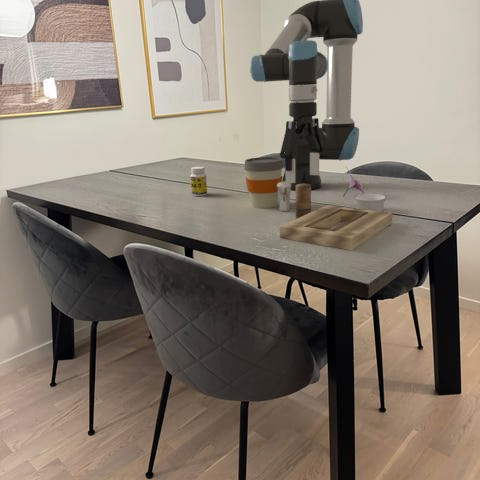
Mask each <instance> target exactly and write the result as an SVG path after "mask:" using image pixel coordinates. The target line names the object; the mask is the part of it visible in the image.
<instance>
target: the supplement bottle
mask: <svg viewBox="0 0 480 480" xmlns="http://www.w3.org/2000/svg"><path fill="white" fill-rule="evenodd" d="M190 170H191V171H190V172H191V174H190V188H191V189H190V192H191V196H194V197H203V196H206V195H207V194H208V186H207V185H208V184H207V175H206V173H205V166H192V167H191V168H190Z"/></svg>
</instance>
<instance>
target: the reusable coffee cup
mask: <svg viewBox="0 0 480 480" xmlns="http://www.w3.org/2000/svg"><path fill="white" fill-rule="evenodd" d="M283 164H284V163H283V159H282V158H281V157H275V156H270V157H269V156H265V157H264V156H261V157H260V156H259V157H251V158H246V159H245V160H244V169H243V170H245V175H246V176H245V181H246V189H247V192H248V193H249V199H250V205H251V207H252V208H256V209H270V208H274V207H277V206H279V204H278V193H277V184H278V183H279V182H282V179H283V175H282V173H283V172H282V170H283V168H284V165H283Z"/></svg>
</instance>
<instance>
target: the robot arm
mask: <svg viewBox="0 0 480 480" xmlns="http://www.w3.org/2000/svg"><path fill="white" fill-rule="evenodd" d="M363 27H364V21H363V13H362V7H361V4H360V0H313V1H309V2H308V3H304V4H303V5H302V6H300V7H299V8H297V9H295V10H294V11H293V12H292V13H291V14H290V15H289V16H288V17H287V19H286V20H285V22H284V25H283V29H282V30H281V32H280V33H279V34H278V36H277V37H276V38H275V40H274V41H273V43H272V44H271V45H270V47H269V48H268V50H267V51H266V52H265V53H264V54H259V55H258V54H257V55H254V56H252V58H251V59H250V62H249V70H250V71H249V72H250V76H251V78H252V80H253V81H255V82H260V83H261V82H264V83H267V82H282V81H288V83H289V84H288V100H289V105H288V108H289V109H288V114H289V115H288V116H289V117H290V118H293V119H292V120H288V121H286V123H285V133H284V136H283V140H282V145H281V149H280V152H279V158H281V159H282V160H283V159H284V165H285V166H284V167H285V168H284V169H285V170H284V174H283V175H282V182H288V183H290V184H291V191H296V185H297V184H310V185H311V190H317V189H319V188H321V187H322V179H321V176H320V160H322V161H323V160H325V161H326V160H327V161H328V160H331V161H338V160H339V161H345V160H346V161H349V160H351V159H353V158H355V157H354V156H355V155H356V152H357V148H358V145H359V139H360V129H359V127H358V126H355V123H356V122H355V121H354V120H353V118H352V117H351V114H352V113H351V112H352V111H351V110H352V79H353V76H352V75H353V46H354V44H356V43H357V42H358V37H359V36H358V35H362V34H363V31H364V30H363ZM314 38H323V39H322V42H323V44H324V45H325V46H326V47H327V49H326V50H327V52H326V53H327V57H326V55H324V54H323V53H321V52H320V51H318V44H317V41H315V40H311V39H314ZM309 39H310V40H309ZM325 75H326V115H325V117H326V118H325V119H324V120H323V121H322V122H321V127H320V123H319V118H317V117H316V116H317V112H318V111H317V110H318V109H317V107H318V106H317V104H318V103H317V102H316V100H317V99H318V98H317V92H318V87H317V84H318V83H317V82H318V80H319V79H321V78H323V77H324V76H325ZM313 117H314V118H313Z"/></svg>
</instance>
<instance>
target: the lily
mask: <svg viewBox="0 0 480 480" xmlns="http://www.w3.org/2000/svg"><path fill="white" fill-rule="evenodd" d="M345 168H346V169H347V171H348V173H349V174H350V181H349V182H350V183H349V187H348V188H346V191H345V192H344V193H343V195H342V198H343V197H344V198H345V195H346V193H347V192H348V191H349V190H350V189H356V190H357V191H358V190H359V191H360V192H361V193H362V194H365V191H364V190H363V189H364V187H363V185H362V184H361V181H360V180H358V179H355V178H354V176H353V175H352V173H351V171H350V169H348V167H347V166H345Z"/></svg>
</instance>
